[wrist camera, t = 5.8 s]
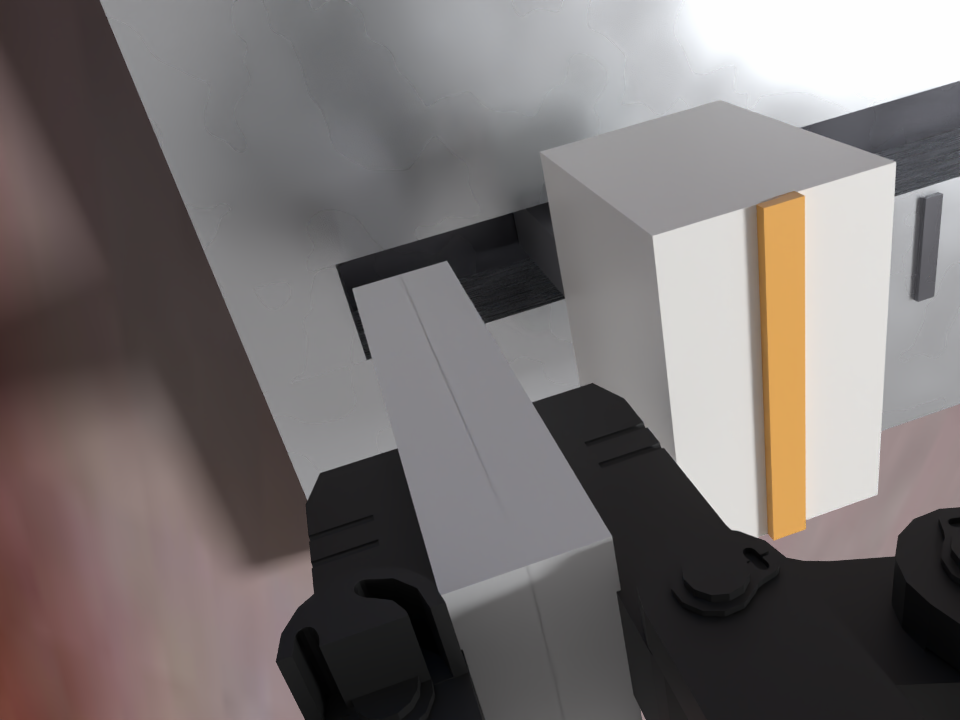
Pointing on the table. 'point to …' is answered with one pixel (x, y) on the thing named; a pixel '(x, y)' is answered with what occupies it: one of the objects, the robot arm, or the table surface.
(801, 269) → the fader knob
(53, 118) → the table surface
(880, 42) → the console
